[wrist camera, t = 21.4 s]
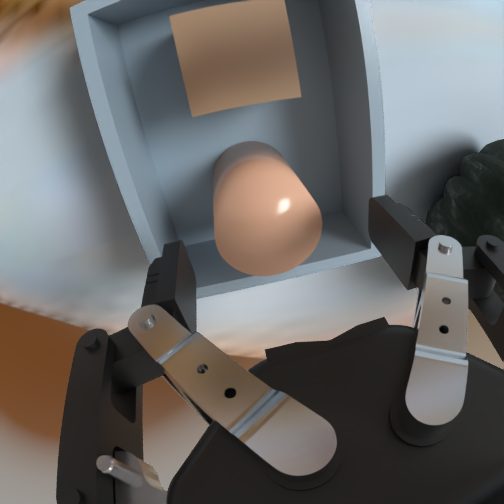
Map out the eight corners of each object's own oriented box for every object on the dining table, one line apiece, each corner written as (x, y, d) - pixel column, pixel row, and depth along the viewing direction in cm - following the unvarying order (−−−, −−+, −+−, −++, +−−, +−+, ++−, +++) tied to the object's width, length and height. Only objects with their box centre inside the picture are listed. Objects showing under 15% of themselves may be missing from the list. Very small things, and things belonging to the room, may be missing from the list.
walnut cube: (180, 29, 14) (169, 16, 10) (264, 14, 14) (283, -3, 10) (196, 105, 17) (192, 117, 13) (278, 89, 17) (301, 97, 13)
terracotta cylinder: (204, 150, 18) (201, 196, 13) (282, 134, 18) (317, 171, 13) (221, 219, 21) (228, 285, 16) (292, 203, 21) (324, 263, 16)
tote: (106, 21, 13) (69, 7, 8) (320, -19, 13) (359, -43, 9) (175, 252, 23) (168, 304, 18) (348, 214, 23) (381, 256, 18)
